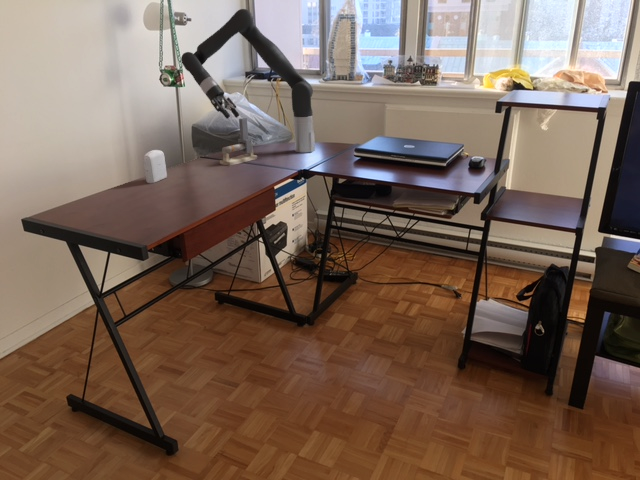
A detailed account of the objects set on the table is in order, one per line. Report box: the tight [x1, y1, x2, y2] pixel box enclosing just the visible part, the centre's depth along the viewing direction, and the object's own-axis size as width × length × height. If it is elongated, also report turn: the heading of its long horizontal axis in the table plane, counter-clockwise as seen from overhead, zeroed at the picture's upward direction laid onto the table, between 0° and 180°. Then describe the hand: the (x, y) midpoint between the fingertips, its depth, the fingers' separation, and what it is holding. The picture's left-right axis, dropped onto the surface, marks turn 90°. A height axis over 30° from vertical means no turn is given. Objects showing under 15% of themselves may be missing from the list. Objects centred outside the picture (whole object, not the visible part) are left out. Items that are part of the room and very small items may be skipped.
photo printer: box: [142, 149, 168, 184], centre depth 222 cm, size 10×4×12 cm, turn 160°
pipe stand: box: [219, 141, 258, 166], centre depth 252 cm, size 17×7×8 cm, turn 140°
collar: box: [237, 117, 253, 154], centre depth 253 cm, size 3×6×16 cm, turn 50°
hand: (233, 116), depth 252 cm, fingers open, 8 cm apart
